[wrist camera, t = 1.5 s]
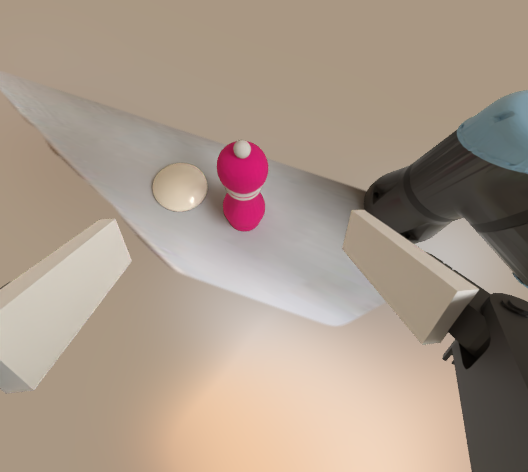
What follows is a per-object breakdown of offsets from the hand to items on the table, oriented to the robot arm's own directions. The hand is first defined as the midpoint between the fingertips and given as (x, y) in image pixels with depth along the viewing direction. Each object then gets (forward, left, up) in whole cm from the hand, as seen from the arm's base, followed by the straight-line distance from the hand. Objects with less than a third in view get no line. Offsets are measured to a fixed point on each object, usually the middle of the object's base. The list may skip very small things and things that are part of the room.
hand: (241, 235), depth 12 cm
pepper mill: (+10, -5, -25) cm, 28 cm away
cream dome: (+21, +3, -25) cm, 33 cm away
